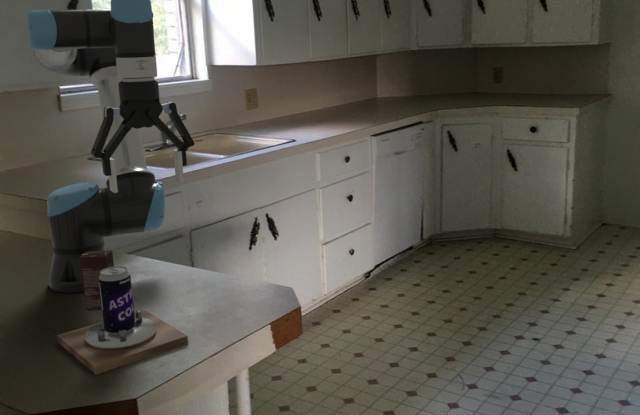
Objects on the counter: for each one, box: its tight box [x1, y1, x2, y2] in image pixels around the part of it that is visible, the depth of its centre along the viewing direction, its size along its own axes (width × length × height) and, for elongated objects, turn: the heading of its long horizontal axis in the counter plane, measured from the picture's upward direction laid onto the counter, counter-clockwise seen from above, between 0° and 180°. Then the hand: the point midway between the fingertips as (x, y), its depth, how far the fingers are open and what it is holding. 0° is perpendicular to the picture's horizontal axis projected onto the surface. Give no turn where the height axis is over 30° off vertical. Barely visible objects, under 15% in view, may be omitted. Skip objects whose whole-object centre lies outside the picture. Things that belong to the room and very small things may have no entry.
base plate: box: [56, 309, 189, 376], centre depth 129 cm, size 18×18×2 cm
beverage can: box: [99, 265, 135, 335], centre depth 127 cm, size 6×6×12 cm
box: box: [79, 249, 115, 310], centre depth 146 cm, size 6×4×12 cm
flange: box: [85, 310, 157, 351], centre depth 128 cm, size 13×13×3 cm
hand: (147, 186), depth 137 cm, fingers open, 13 cm apart
